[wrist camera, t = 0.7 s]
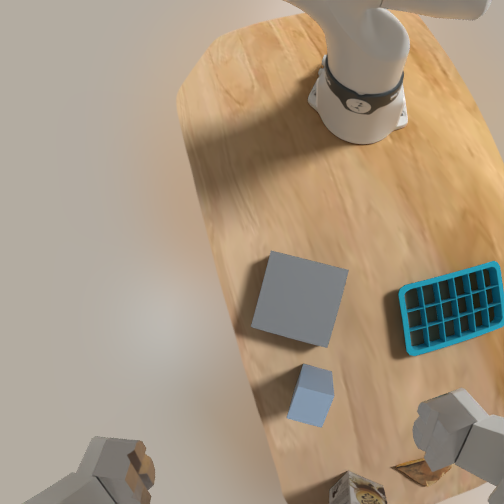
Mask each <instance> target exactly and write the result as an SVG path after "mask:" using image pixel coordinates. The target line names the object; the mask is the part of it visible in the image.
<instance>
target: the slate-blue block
mask: <svg viewBox="0 0 504 504" xmlns="http://www.w3.org/2000/svg"><path fill="white" fill-rule="evenodd" d="M333 398H334V388H333V378H332V371H328V370H325V369H321V368H317V367H314V366H310V365H306V364H303V366H302V369H301V372H300V375H299V378H298V381H297V384H296V386H295V389H294V393H293V396H292V400H291V404H290V407H289V411H288V415H287V418H288V419H292V420H295V421H299V422H302V423H306V424H310V425H314V426H318V427H322V426H323V423H324V421H325V418H326V416H327V413H328V411H329V408H330V406H331V403H332V401H333Z"/></svg>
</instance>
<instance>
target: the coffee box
mask: <svg viewBox="0 0 504 504" xmlns="http://www.w3.org/2000/svg"><path fill="white" fill-rule="evenodd" d="M329 504H387V500H386V496H385V492H384V487H383V485H380V484H378V483H375V482H373V481H371V480H368V479H366V478H364V477H361V476H359V475H357V474H355V473H353V472H350V471H347V472H346V473H345V475H344V476H343V477H342V478H341V479H340V480H339V481H338V482H337V483H336V484H335V485H334V486H333V487H332V488H331V489H330V490H329Z"/></svg>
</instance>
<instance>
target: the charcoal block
mask: <svg viewBox="0 0 504 504" xmlns="http://www.w3.org/2000/svg"><path fill="white" fill-rule="evenodd" d="M348 271H349V270H346V269H342V268H338V267H334V266H330V265H327V264H323V263H319V262H315V261H311V260H307V259H303V258H299V257H295V256H291V255H287V254H283V253H279V252H275V251H271V253H270V256H269V260H268V264H267V268H266V272H265V276H264V280H263V283H262V287H261V291H260V295H259V299H258V302H257V306H256V310H255V314H254V317H253V321H252V325H251V327H253V328H256V329H260V330H263V331H266V332H270V333H273V334H277V335H280V336H284V337H288V338H291V339H295V340H299V341H302V342H306V343H310V344H314V345H318V346H322V347H325V348H327V347H328V344H329V340H330V337H331V334H332V330H333V327H334V323H335V320H336V316H337V313H338V309H339V305H340V302H341V298H342V294H343V290H344V286H345V283H346V279H347V275H348Z"/></svg>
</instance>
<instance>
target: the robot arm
mask: <svg viewBox="0 0 504 504" xmlns="http://www.w3.org/2000/svg"><path fill="white" fill-rule="evenodd" d="M283 1H286V2H288V3H290V4H292V5H294V6H296V7H298V8H299V9H301V10H302V11H304V12H305V13H307V14H308V15H309V16H310V17H312V18H313V19H314V20H315V21H316V22H317V23H318V24H319V26H320V27H321V28H322V30H323V32H324V34H325V38H326V44H327V55H324V57H323V60H322V65H323V66H324V68H323V69H322V68H320V69H319V72H318V75H319V77H318V79H317V81H316V83H315V85H314V87H313V88H312V90H311V92H310V94H309V96H308V103H309V104H310V106H312V107H313V108H314V109H315V110H316V111H317V112H318V113H319V115H320V117H321V119H322V121H323V123H324V124H325V126H326V127H327V128H328V129H329V130H330V131H331V132H332V133H333V134H334V135H336V136H337V137H339V138H341V139H343V140H345V141H348V142H351V143H355V144H370V143H375V142H378V141H380V140H382V139H384V138H385V137H386V136H387V135H389V134H390V133H391V132H392V131H394V130H397V129H400V128H403V127H405V126H406V125H407V122H408V117H407V109H406V102H405V95H404V88H403V77H404V71H403V69H404V66H405V63H406V60H407V56H408V53H409V49H410V41H409V36H408V34H407V31H406V29H405V28H404V26H403V25H402V24H401V23H400V21H399V20H398V19H397V18H396V17H395V16H394V15H393V14H392V13H391V12H389V11H388V10H386V9H391V10H398V11H404V12H410V13H415V14H420V15H425V16H430V17H434V18H445V19H458V20H476V19H478V18H479V17H481V16H482V15H483V14H484V13H485V12H486V11H487V9H488V8H489V6H490V4H491V2H492V0H283ZM315 94H316V96H315ZM401 115H402V116H401ZM417 412H418V414H419V415H420V416H419V417H418V418H417V420H416V421H415V422H414V426H413V438H414V441H415V444H416V445H417V447H418V449H421V450H423V451H425V455H424V459H425V461H426V462H427V464H428V466H429V467H430V469H431V471H432V472H434V471H436V470H439V469H442V468H444V467H446V466H449V465H451V464H454V463H455V465H457V466H459V467H461V468H463V469H465V470H466V471H468V472H470V473H472V474H474V475H476V476H478V477H479V478H481V479H483V480H485V481H487V482H489V483H491V484H493V485H495V486H497V487H496V488H495V489H494V491H493V492H492V494H491V495H490V496H489V499H488V502H489V504H504V418H503V417H500V416H496V415H493V414H492V415H490V416H489V415H488V414H487V413H486V412H485V411H484V409H483V408H482V407H481V406H480V405H479V404H478V403H477V402H476V401H475V400H474V398H473V397H472V396H471V395H470V394H469V393H468V392H467V391H466V390H465V389H463V388H459V389H456V390H454V391H451V392H449V393H446V394H443V395H440V396H438V397H435V398H432V399H429V400H427V401H424V402H421V404H420V405H419V407H418V411H417ZM145 451H146V447H145V445H144V444H143V442H142V441H139V440H127V439H117V438H105V437H98V436H96V437H94V438H92V440H91V442H90V444H89V446H88V448H87V450H86V452H85V454H84V457H83V459H82V461H81V463H80V466H79V468H78V470H77V472H76V473H71V474H69V475H67V476H66V477H64V478H63V479H61V480H60V481H58V482H57V483H55V484H53V485H52V486H50V487H49V488H47V489H45V490H44V491H42V492H41V493H39V494H37V495H36V496H34V497H32V498H31V499H29V500H27V501H26V502H24V503H23V504H150V500H151V495H150V493H149V492H148V490H149V489H150V488H151V487H152V486H153V485H154V480H155V468H154V464H153V461H152V459H151V458H150V457H149V456H147V455H146V454H145Z"/></svg>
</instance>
